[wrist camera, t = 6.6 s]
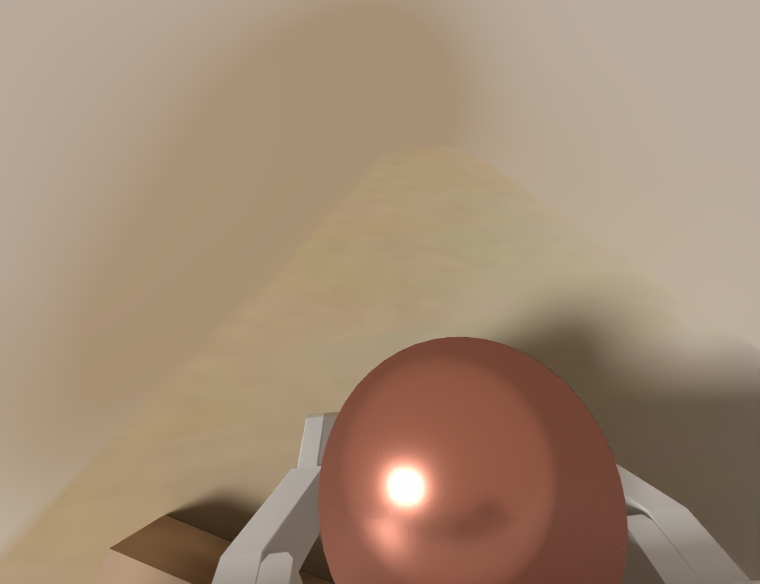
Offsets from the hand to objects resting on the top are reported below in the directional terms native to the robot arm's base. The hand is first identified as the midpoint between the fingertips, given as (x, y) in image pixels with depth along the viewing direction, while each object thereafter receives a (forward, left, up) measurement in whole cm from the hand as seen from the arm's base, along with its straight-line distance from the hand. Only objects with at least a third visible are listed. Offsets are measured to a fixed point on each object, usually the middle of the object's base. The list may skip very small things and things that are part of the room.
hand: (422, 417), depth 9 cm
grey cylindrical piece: (0, +1, -6) cm, 6 cm away
